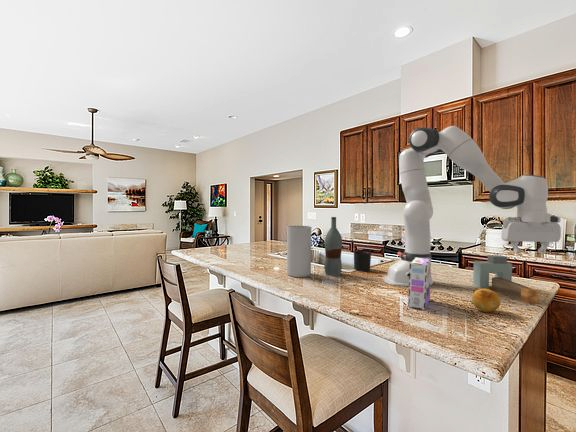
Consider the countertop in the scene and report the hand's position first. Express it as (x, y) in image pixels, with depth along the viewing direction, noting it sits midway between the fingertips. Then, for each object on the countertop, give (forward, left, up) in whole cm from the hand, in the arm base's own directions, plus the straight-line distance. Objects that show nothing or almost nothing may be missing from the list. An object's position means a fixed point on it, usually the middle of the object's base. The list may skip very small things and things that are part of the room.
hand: (529, 253), depth 115 cm
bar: (0, +8, -19) cm, 20 cm away
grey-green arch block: (0, +20, -19) cm, 28 cm away
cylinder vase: (-87, +39, -19) cm, 98 cm away
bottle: (-69, +41, -19) cm, 83 cm away
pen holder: (-51, +52, -19) cm, 76 cm away
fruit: (-23, -11, -19) cm, 32 cm away
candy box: (-43, -4, -19) cm, 48 cm away
